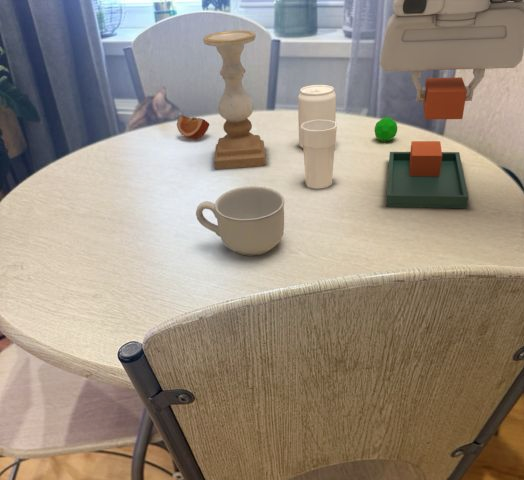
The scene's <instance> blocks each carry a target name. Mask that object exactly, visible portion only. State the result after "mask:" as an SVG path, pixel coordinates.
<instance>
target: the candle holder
mask: <svg viewBox="0 0 524 480" xmlns="http://www.w3.org/2000/svg"><path fill="white" fill-rule="evenodd" d="M202 39H203V40H202V41H203V43H204V45H207V46H211V47H216V50H217V53H218V54H219V55H220V56H221V59H222V66H221V69H220V70H219V75H220V76H222V79H223V81H224V83H225V88H224V91H223V94H222V96H221V97H220V100H219V103H218V113H219V115H220V117H221V118H222V119H224V120H225V122H224V123H223V126H222V127H223V131H224V132H225V135H224V136H223V137H219V138H218V140H217V144H215V148H214V150H215V152H214V160H213V161H214V168H215V170H226V169H237V168H238V169H239V168H240V169H241V168H250V167H263V166H266V165H267V162H266V149H265V141H264V140H262V139H261V136H260V135H259V134H253V133H251V132H250V131H251V130H252V127H253V125H252V122H251V121H250V119H249V118H250V117H251V115H252V114H253V113H254V103H253V101H252V99H251V97H250V96H249V95H248V93H247V92H246V89H245V88H244V86H243V78H244V75H245V73H246V69H245V67H244V66H243V64H242V62H241V55H242V52H243V51H244V49H245V45H246V44H248V43H251V42H254V41H255V40H256V32H254V31H250V30H226V31H219V32H213V33H209V34H207V35H205V36H204V37H203V38H202Z"/></svg>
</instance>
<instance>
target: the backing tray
mask: <svg viewBox="0 0 524 480" xmlns="http://www.w3.org/2000/svg"><path fill="white" fill-rule="evenodd" d="M388 157H389V159H388V172H387V185H386V201H385V207H389V208H390V207H395V208H396V207H397V208H427V209H428V208H433V209H435V208H436V209H468V208H467V207H468V203H469V198H470V197H469V193H468V187H467V183H466V178H465V173H464V169H463V164H462V158H461V154H460V152H459V151H442V161H441V168H440V175H439V177H432V176H410V168H409V160H410V151H390V152H389V156H388Z"/></svg>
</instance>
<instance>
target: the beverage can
mask: <svg viewBox="0 0 524 480" xmlns="http://www.w3.org/2000/svg"><path fill="white" fill-rule="evenodd" d="M334 90H335V88H334V87H333V86H332V85H327V84H311V85H307V86H303V87H301V88H300V89H299V94H298V96H297V111H298V112H297V115H298V145H299V146H300V148H302V149H303V144H302V138H301V125H302V124H303V123H305V122H308V121H312V120H330V121H334V122H335V123H336V120H337V119H336V116H337V115H336V113H337V112H336V111H337V110H336V109H337V95H336V92H335V91H334Z"/></svg>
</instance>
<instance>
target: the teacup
mask: <svg viewBox="0 0 524 480" xmlns="http://www.w3.org/2000/svg"><path fill="white" fill-rule="evenodd" d="M204 210H210V211H211V212H212V213H213V215H214V217H215V219H216V221H217V224H215V223H214V222H211V221H209V220H208V219H207V218H206V217H205V216H204V214H203V211H204ZM195 216H196V219H197V221H198V222H199V224H200V225H201V226H202V227H204V228H206V229H208V230H209V231H211V232H213V233H215V235H216V236H217V237H219V238H220V240H221V241H222V243H223V245H224V246H225V247H226V248H227V249H229V250H231V251H233V252H234V253H237V254H240V255H242V256H247V257H248V256H250V257H251V256H252V257H253V256H260V255H263V254H265V253H268V252H269V251H270V250H271V249H273V248H274V247H275V246H277V245H278V244H279V243H280V241H281V240H282V238H283V235H284V230H285V198H284V195H282V194H281V193H280V191H277V190H275V189H273V188H271V187H266V186H259V185H255V186H254V185H253V186H251V185H250V186H241V187H236V188H233V189H229V190H228V191H226V192H224V193H222V194H221V195H220V196H219V197H218V198H217V199H216V201H215V203H214V202H212V201H208V200H207V201H202V202H201V203H199V204H198V205H197V208H196V211H195Z"/></svg>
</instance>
